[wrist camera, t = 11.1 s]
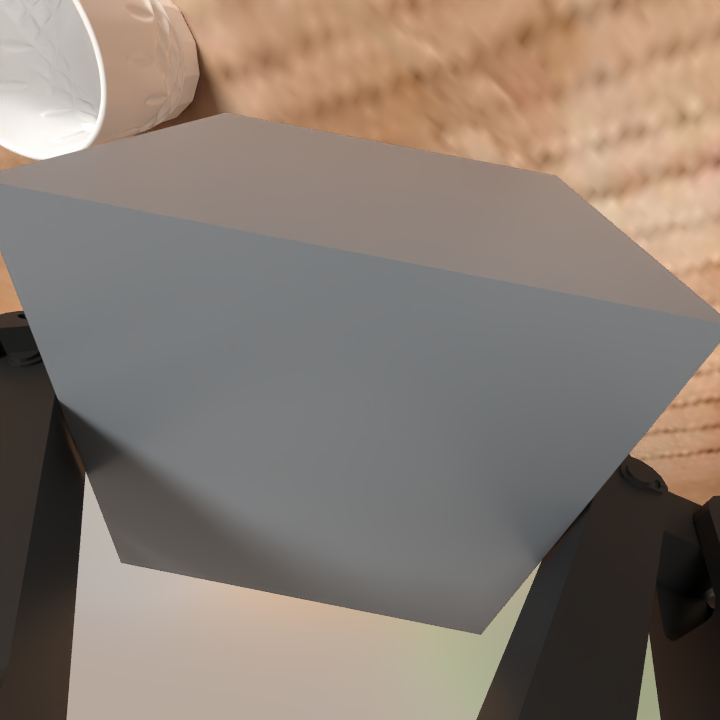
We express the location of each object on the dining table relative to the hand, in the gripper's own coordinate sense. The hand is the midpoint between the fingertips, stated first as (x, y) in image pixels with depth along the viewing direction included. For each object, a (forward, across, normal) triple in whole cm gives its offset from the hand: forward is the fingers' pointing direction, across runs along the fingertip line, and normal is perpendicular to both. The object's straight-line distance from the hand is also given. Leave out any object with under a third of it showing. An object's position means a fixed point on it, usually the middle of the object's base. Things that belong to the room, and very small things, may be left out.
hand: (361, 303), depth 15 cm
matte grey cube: (+1, 0, 0) cm, 1 cm away
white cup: (+15, -16, +5) cm, 22 cm away
